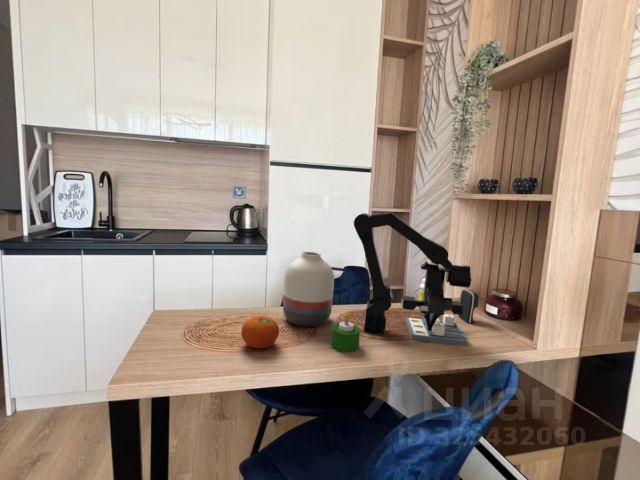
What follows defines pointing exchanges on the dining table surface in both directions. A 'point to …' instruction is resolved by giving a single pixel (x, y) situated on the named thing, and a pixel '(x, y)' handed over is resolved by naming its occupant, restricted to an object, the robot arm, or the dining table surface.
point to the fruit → (260, 332)
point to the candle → (345, 336)
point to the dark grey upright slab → (468, 304)
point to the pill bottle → (421, 290)
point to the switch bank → (421, 333)
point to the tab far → (448, 319)
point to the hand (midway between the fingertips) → (428, 330)
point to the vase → (308, 290)
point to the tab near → (438, 329)
